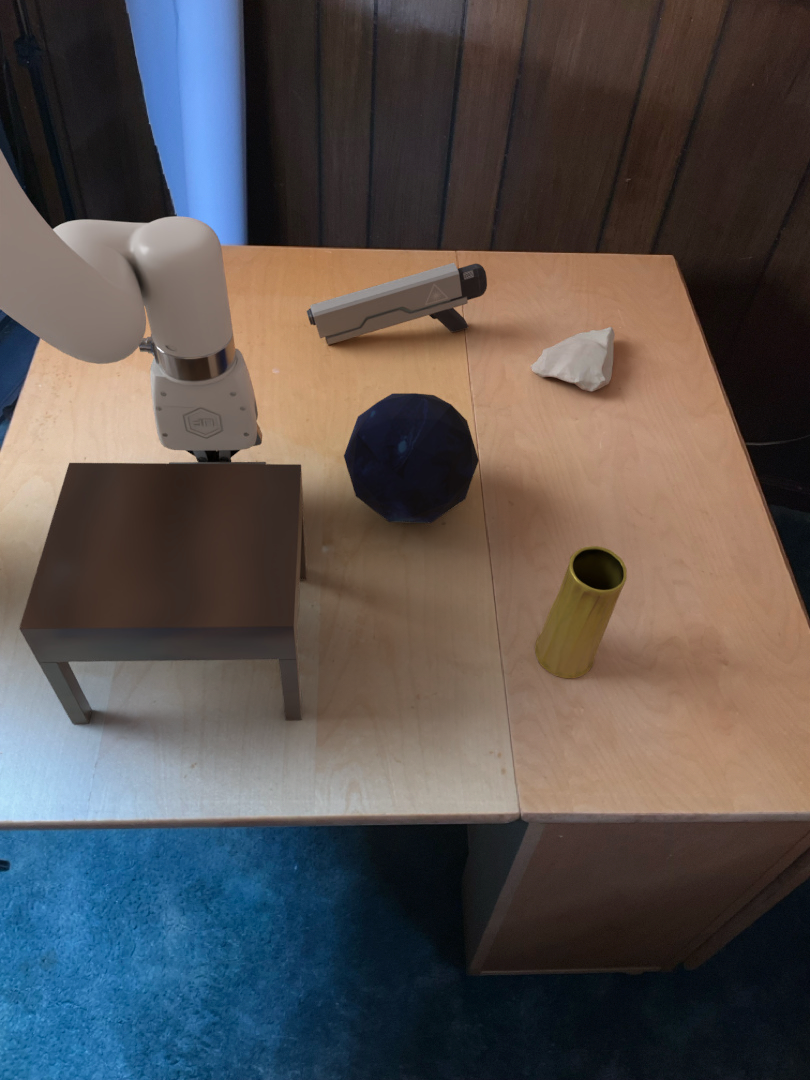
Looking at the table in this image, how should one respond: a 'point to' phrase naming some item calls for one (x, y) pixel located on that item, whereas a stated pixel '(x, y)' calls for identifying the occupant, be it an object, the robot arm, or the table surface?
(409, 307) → the gun
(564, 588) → the vase
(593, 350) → the stone
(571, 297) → the table surface
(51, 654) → the miniature coffee table
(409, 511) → the decorative orb
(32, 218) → the robot arm
